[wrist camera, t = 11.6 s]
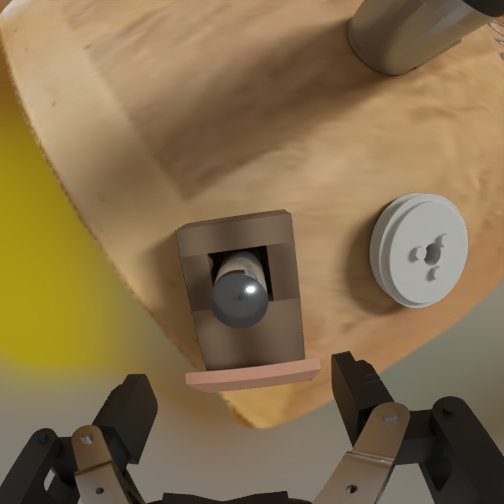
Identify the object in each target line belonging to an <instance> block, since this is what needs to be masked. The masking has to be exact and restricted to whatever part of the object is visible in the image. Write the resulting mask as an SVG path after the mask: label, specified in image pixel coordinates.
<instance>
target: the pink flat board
mask: <svg viewBox="0 0 504 504" xmlns="http://www.w3.org/2000/svg"><path fill="white" fill-rule="evenodd" d="M320 370H321V365H320V359H319V357H316V358H311V359H305V360H299V361H293V362H286V363H280V364H273V365H265V366H258V367H249V368H240V369H230V370H219V371H207V372H192V373H185V376H186V377H185V379H186V385H189V386H191V387H194V388H196V389H199V390H201V391H204V392H219V391H231V390H242V389H252V388H260V387H268V386H276V385H283V384H289V383H296V382H302V381H308V380H312V379H313V378H314V377H315V376H316V374H317V373H318V372H319V371H320Z"/></svg>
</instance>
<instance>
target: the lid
mask: <svg viewBox="0 0 504 504" xmlns="http://www.w3.org/2000/svg"><path fill="white" fill-rule="evenodd" d="M467 250H468V237H467V230H466V226H465V223H464V220H463V218H462V216H461V214H460V212H459V211H458V209H457V208H456V207H455V206H454V204H453V203H451V202H450V201H449V200H448V199H446V198H444V197H442V196H439V195H435V194H424V193H411V194H407V195H404V196H402V197H400V198H398V199H396V200H395V201H393V202H392V203H391V204H390V205H389V206H388V207H387V208H386V209H385V210H384V212H383V213H382V214H381V216H380V217H379V219H378V221H377V223H376V225H375V227H374V230H373V233H372V237H371V242H370V252H369V253H370V264H371V269H372V272H373V275H374V277H375V279H376V281H377V283H378V284H379V286H380V287H381V288H382V289H383V290H384V291H385V292H386V293H387V294H389V295H390V296H391V297H392V298H393V299H394V300H396V301H397V302H399V303H400V304H402V305H404V306H407V307H412V308H421V307H426V306H429V305H432V304H434V303H436V302H438V301H439V300H441V299H442V298H443V297H444V296H446V295H447V294H448V293H449V292H450V291H451V289H452V288H453V287H454V285H455V284H456V283H457V281H458V279H459V277H460V275H461V273H462V271H463V268H464V265H465V262H466V257H467Z"/></svg>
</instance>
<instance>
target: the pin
mask: <svg viewBox="0 0 504 504" xmlns="http://www.w3.org/2000/svg"><path fill="white" fill-rule="evenodd" d="M210 306H211V310H212V312H213V314H214V316H215V317H216V318H217V319H218V320H219V321H220V322H221V323H223V324H224V325H226V326H229V327H232V328H247V327H251V326H253V325H255V324H256V323H258V322H259V321H260V320H261V319H262V318H263V317H264V315H265V314H266V311H267V309H268V294H267V289H266V283H265V278H264V272H263V267H262V261H261V257H260V254H259V253H258V251H257V250H256V249H255V248H253V247H250V248H243V249H236V250H229V251H227V252H226V253H225V255H224V258H223V261H222V264H221V267H220V270H219V272H218V275H217V278H216V281H215V284H214V287H213V290H212V293H211V296H210Z"/></svg>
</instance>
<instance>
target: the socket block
mask: <svg viewBox="0 0 504 504" xmlns="http://www.w3.org/2000/svg"><path fill="white" fill-rule="evenodd" d="M175 232H176V237H177V243H178V248H179V253H180V258H181V264H182V269H183V273H184V278H185V283H186V288H187V292H188V297H189V302H190V306H191V310H192V315H193V319H194V323H195V327H196V332H197V336H198V340H199V344H200V348H201V352H202V355H203V359H204V363H205V367H206V371H219V370H230V369H240V368H249V367H258V366H265V365H273V364H280V363H286V362H293V361H299V360H305V351H304V337H303V325H302V313H301V302H300V291H299V281H298V271H297V262H296V252H295V244H294V235H293V226H292V218H291V213H289V212H287V211H286V210H284V209H283V210H276V211H268V212H261V213H254V214H247V215H240V216H233V217H226V218H220V219H213V220H207V221H200V222H194V223H188V224H186V225H184V226H182V227H181V228H179V229H177V230H175ZM264 245H265V250H266V257H267V265H268V272H269V280H270V284H266V289H267V294H268V309H267V311H266V314H265V315H264V317H263V318H262V319H261V320H260V321H259V322H258V323H256V324H255V325H253V326H251V327H247V328H232V327H229V326H226V325H224V324H223V323H221V322H220V321H219V320H218V319H217V318H216V317H215V316H214V314H213V312H212V310H211V306H210V296H211V293H212V290H213V287H214V284H215V281H216V278H217V275H218V267H217V261H216V255H215V252H222V251H229V250H236V249H243V248H250V247H257V246H264Z"/></svg>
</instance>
